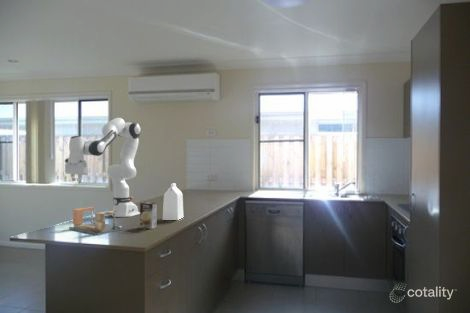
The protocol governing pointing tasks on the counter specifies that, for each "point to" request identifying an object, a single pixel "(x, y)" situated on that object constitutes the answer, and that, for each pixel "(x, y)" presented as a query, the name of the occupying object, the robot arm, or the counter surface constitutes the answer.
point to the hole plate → (107, 229)
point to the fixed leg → (98, 222)
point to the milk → (173, 204)
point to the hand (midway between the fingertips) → (76, 181)
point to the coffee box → (148, 215)
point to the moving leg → (81, 215)
